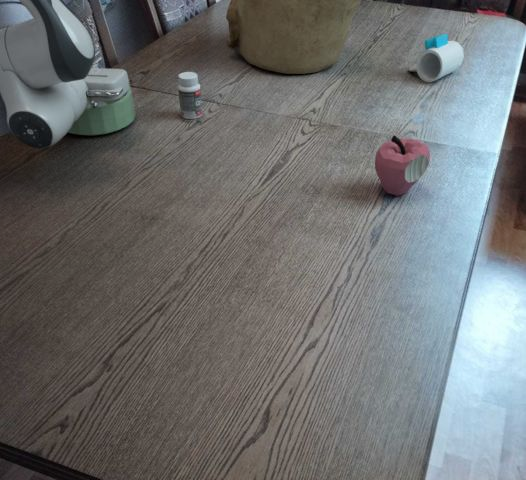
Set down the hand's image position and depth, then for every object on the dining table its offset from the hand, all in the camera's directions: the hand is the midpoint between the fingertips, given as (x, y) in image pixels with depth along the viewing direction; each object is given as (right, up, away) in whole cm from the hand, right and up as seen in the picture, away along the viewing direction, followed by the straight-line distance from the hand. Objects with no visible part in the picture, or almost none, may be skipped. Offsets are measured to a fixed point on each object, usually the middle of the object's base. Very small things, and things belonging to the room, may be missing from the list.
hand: (87, 67), depth 112 cm
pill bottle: (+20, -6, +10) cm, 23 cm away
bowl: (0, -8, +7) cm, 11 cm away
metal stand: (0, -7, +6) cm, 9 cm away
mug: (+79, +12, +27) cm, 84 cm away
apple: (+60, -29, -12) cm, 67 cm away
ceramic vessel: (+43, +22, +36) cm, 60 cm away
